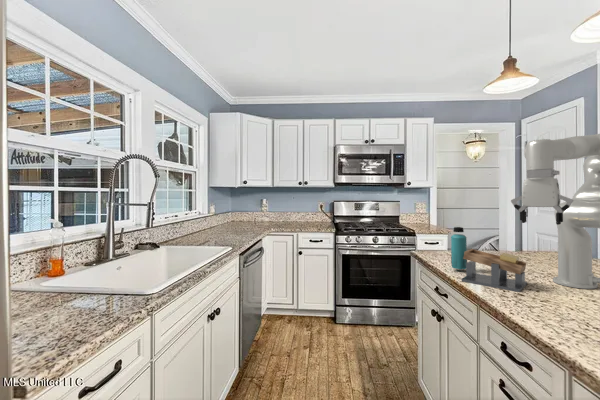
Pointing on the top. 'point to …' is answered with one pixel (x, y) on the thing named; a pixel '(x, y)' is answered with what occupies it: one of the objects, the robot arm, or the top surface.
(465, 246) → the beverage bottle
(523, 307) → the top surface
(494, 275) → the beam stand
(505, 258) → the brass block
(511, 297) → the top surface
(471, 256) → the beam
